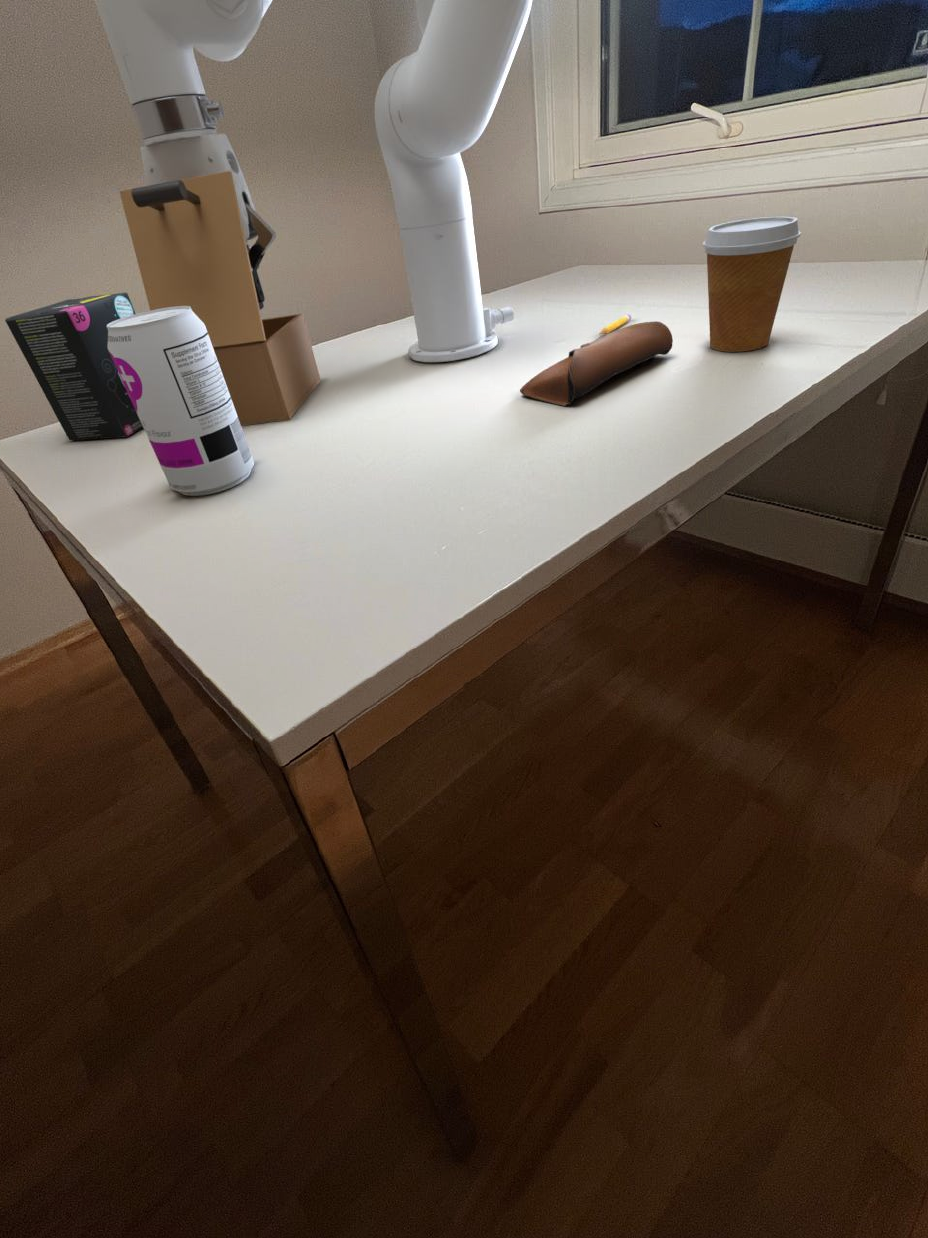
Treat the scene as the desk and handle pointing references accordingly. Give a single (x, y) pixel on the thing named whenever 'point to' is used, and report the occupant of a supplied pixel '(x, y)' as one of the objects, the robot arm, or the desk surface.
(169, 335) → the supplement can
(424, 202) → the robot arm
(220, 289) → the flap
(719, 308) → the disposable coffee cup
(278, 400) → the carton
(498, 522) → the desk surface
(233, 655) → the desk surface
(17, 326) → the tampon box
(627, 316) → the pencil
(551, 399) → the sunglasses case
